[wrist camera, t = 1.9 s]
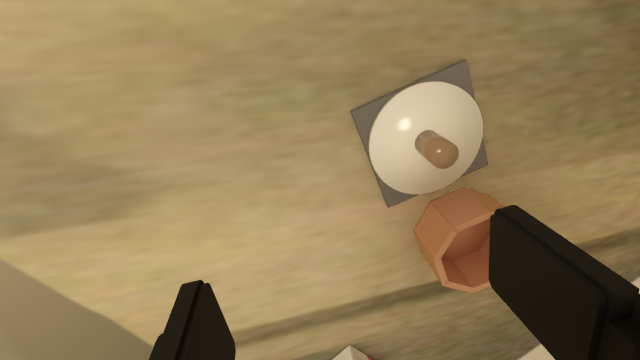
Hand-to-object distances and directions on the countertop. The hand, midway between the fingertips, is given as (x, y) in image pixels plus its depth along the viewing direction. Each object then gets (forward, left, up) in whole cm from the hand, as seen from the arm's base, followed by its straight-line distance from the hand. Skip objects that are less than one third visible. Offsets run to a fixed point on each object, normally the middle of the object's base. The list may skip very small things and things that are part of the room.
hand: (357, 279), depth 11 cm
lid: (-11, +9, -26) cm, 30 cm away
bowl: (-12, +23, -27) cm, 37 cm away
